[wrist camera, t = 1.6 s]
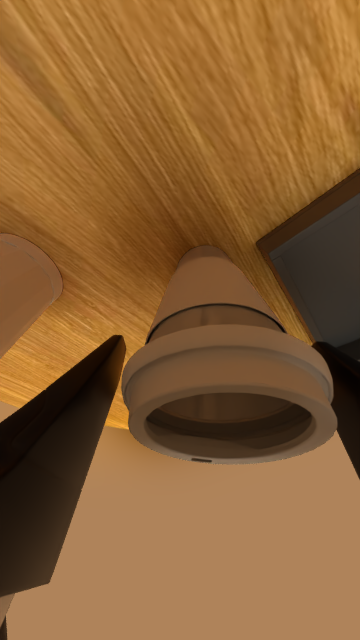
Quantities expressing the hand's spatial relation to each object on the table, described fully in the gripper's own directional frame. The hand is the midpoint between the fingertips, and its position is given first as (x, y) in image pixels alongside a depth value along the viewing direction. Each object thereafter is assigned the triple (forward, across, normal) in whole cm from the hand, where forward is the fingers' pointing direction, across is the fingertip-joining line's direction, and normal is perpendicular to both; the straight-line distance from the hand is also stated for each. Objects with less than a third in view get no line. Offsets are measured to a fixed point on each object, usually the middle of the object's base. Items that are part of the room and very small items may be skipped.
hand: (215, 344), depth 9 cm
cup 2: (+8, 0, 0) cm, 8 cm away
